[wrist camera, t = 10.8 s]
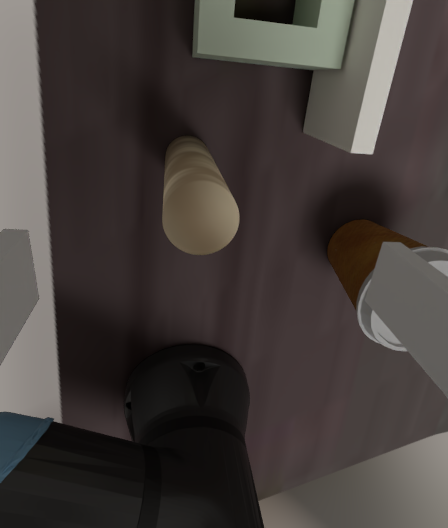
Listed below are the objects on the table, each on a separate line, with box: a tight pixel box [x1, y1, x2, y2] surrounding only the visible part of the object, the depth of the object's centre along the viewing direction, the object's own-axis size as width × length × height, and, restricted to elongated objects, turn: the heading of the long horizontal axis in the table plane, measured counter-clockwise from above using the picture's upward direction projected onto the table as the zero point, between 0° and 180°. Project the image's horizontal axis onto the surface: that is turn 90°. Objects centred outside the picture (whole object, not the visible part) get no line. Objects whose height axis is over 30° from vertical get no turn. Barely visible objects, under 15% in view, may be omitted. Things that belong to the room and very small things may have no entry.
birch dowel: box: [162, 135, 239, 255], centre depth 26 cm, size 4×4×16 cm
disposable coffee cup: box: [327, 219, 448, 351], centre depth 34 cm, size 10×10×12 cm
